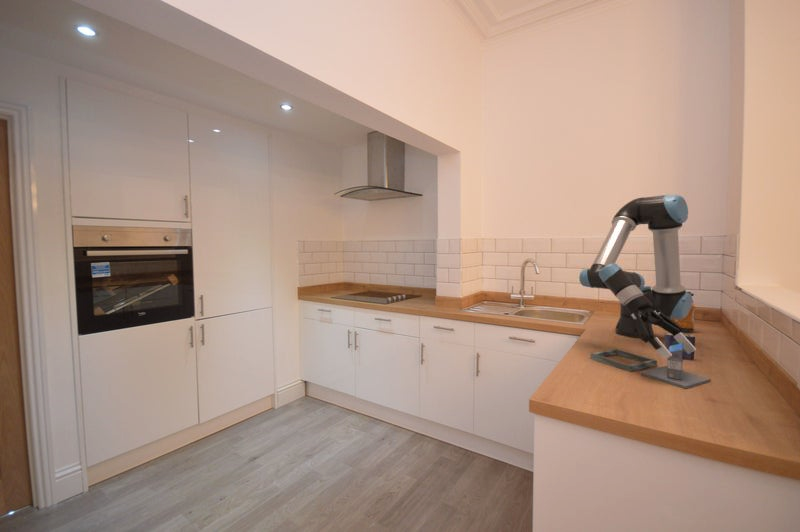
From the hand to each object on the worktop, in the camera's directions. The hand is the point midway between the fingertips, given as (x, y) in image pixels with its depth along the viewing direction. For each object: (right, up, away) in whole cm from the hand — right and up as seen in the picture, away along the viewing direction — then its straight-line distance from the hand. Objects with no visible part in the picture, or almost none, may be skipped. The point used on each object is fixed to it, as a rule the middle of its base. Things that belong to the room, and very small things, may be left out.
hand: (680, 354), depth 112 cm
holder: (-8, -7, +17) cm, 20 cm away
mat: (-1, -8, +2) cm, 8 cm away
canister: (+50, -4, +64) cm, 81 cm away
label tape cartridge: (-1, -7, +2) cm, 7 cm away
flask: (+16, -7, +22) cm, 28 cm away
